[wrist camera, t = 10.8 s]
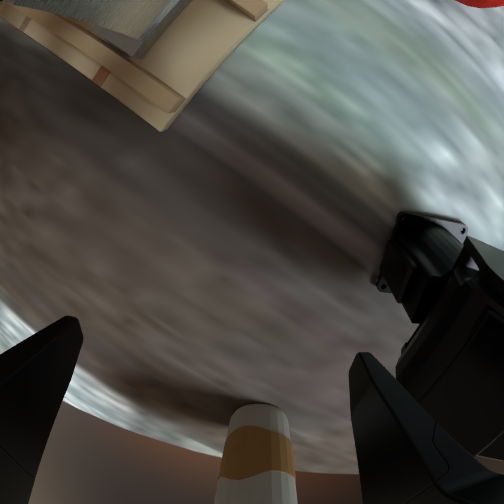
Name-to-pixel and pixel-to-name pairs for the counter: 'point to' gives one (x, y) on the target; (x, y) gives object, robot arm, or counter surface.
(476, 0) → the tomato
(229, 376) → the counter surface
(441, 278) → the robot arm
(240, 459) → the coffee cup
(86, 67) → the fader track
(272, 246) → the counter surface
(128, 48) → the fader knob
